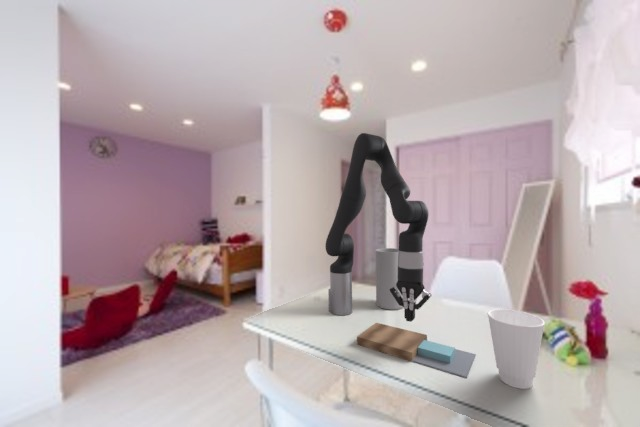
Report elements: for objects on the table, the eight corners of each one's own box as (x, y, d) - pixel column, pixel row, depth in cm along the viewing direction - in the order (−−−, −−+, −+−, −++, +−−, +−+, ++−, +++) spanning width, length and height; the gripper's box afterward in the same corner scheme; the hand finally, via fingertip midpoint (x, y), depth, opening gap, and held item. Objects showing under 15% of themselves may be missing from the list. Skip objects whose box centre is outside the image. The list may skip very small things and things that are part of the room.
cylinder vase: (372, 307, 126) (371, 251, 126) (381, 299, 137) (381, 247, 137) (400, 312, 120) (399, 253, 120) (408, 303, 130) (407, 249, 130)
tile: (417, 354, 85) (417, 347, 85) (424, 346, 90) (423, 339, 90) (450, 363, 79) (450, 356, 79) (455, 354, 84) (455, 347, 84)
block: (357, 344, 92) (356, 336, 92) (376, 329, 103) (376, 322, 103) (412, 361, 81) (412, 352, 81) (427, 342, 92) (427, 334, 92)
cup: (497, 362, 80) (496, 305, 80) (550, 381, 71) (550, 317, 71) (480, 379, 72) (480, 316, 72) (538, 402, 63) (538, 331, 63)
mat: (412, 361, 81) (412, 360, 81) (427, 342, 92) (427, 341, 92) (466, 378, 73) (466, 377, 73) (475, 355, 84) (475, 354, 84)
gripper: (385, 264, 89) (384, 319, 90) (428, 270, 81) (427, 330, 82) (394, 260, 95) (394, 312, 96) (435, 265, 87) (435, 321, 88)
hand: (409, 320), depth 89 cm, fingers closed
